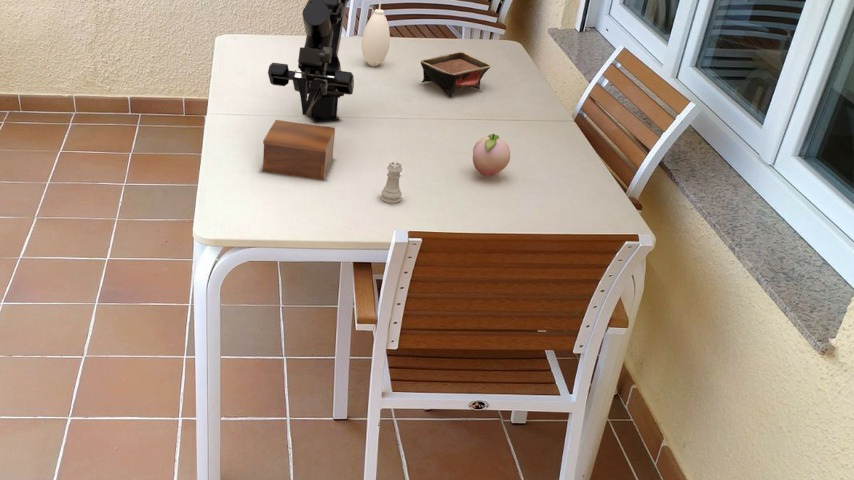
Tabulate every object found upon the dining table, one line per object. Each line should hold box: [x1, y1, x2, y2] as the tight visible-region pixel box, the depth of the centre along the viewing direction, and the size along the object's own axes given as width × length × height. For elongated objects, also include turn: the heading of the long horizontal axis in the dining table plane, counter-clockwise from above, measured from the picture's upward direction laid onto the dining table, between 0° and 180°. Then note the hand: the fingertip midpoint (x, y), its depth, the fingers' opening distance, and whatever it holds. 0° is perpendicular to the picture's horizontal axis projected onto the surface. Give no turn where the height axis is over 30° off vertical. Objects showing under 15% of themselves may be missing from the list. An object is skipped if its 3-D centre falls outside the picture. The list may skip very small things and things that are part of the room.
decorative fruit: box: [472, 133, 511, 177], centre depth 214 cm, size 9×8×10 cm
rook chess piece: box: [380, 161, 403, 205], centre depth 202 cm, size 4×4×8 cm
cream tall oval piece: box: [361, 0, 391, 67], centre depth 272 cm, size 8×8×18 cm
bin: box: [262, 131, 336, 181], centre depth 214 cm, size 12×14×7 cm
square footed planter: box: [420, 51, 492, 98], centre depth 263 cm, size 14×18×10 cm
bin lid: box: [262, 119, 336, 152], centre depth 211 cm, size 12×14×1 cm
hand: (304, 114), depth 213 cm, fingers closed
